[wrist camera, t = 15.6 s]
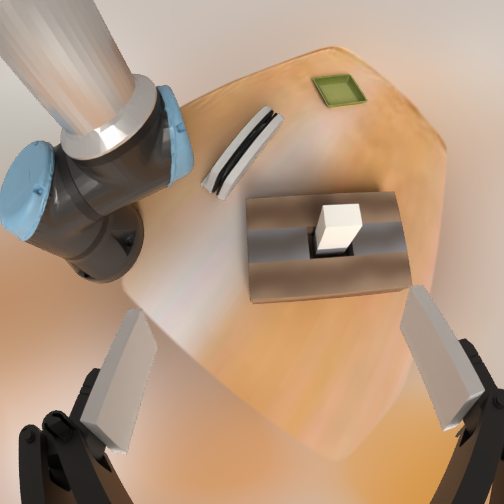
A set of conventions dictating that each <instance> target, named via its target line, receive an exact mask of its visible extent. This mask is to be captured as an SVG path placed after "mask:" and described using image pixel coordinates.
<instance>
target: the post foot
mask: <svg viewBox="0 0 504 504" xmlns="http://www.w3.org/2000/svg"><path fill="white" fill-rule="evenodd" d="M342 204H359V208H360V214H361V219H362V225H363V226H362V227H361V228H360V230H359V231H358V233H357V234H356V236H355V237H354V239H353V240H352V242H351V243H350V245H349V246H348V247H347V249H346V250H345V252H344V253H343V255H342V256H341V257H332V258H319V259H313V249H312V241H313V237H314V234H315V231H316V227H317V224H318V221H319V217H320V214H321V210H322V207H323V205H342ZM246 216H247V240H248V263H249V286H250V300H251V301H252V303H253V304H261V303H277V302H292V301H305V300H318V299H329V298H340V297H351V296H361V295H371V294H380V293H389V292H397V291H401V290H403V289H406V288H408V287H410V286H412V279H411V272H410V266H409V259H408V253H407V248H406V242H405V237H404V232H403V227H402V222H401V217H400V213H399V208H398V204H397V200H396V195H395V192H358V193H333V194H313V195H296V196H281V197H267V198H254V199H246Z"/></svg>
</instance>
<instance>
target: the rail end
mask: <svg viewBox="0 0 504 504" xmlns="http://www.w3.org/2000/svg"><path fill="white" fill-rule="evenodd" d="M362 226H363V225H362V219H361V214H360V208H359V204H342V205H323V207H322V210H321V214H320V217H319V221H318V224H317V227H316V231H315V234H314V237H313V241H312V249H313V259H319V258H332V257H341V256H342V255H343V253H344V252H345V250H346V249H347V247H348V246H349V245H350V243H351V242H352V240H353V239H354V237H355V236H356V234H357V233H358V231H359V230H360V228H361V227H362Z"/></svg>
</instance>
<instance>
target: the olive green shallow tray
mask: <svg viewBox="0 0 504 504" xmlns="http://www.w3.org/2000/svg"><path fill="white" fill-rule="evenodd" d="M313 81H314V83H315V85H316V86H317V88H318V90H319V92H320V93H321V95H322V97H323V99H324V101H325V102H326V104H327V106H328V107H338V106H346V105H354V104H361V103H364V102H367V99H366V97H365V95H364V94H363V92H362V91H361V89H360V88H359V86H358V85H357V83H356V82H355V80H354V79H353V77H352V76H351V75H350V74H343V75H334V76H324V77H316V78H313Z"/></svg>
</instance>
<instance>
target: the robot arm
mask: <svg viewBox="0 0 504 504" xmlns="http://www.w3.org/2000/svg"><path fill="white" fill-rule="evenodd" d="M0 56H1V58H2V59H3V60H4V61H5V62H6V63H7V65H8V66H9V67H10V68H11V70H13V72H14V73H15V74H16V75H17V77H18V78H19V79H20V80H21V82H22V83H23V84H24V85H25V86H26V87H27V89H28V90H29V91H30V92H31V93H32V94H33V95H34V97H35V98H36V99H37V100H38V101H39V102H40V103H41V105H43V107H44V108H45V109H46V110H47V111H48V112H49V113H50V115H51V116H52V117H53V118H54V119H55V120H56V121H57V122H58V123H59V125H60V126H61V127H62V131H61V143H60V144H59V145H57V146H56V147H53V146H52V145H51V144H50V143H49V142H45V141H35V142H33V143H31V144H30V145H28V146H27V147H25V148H24V149H23V150H22V151H21V152H20V154H19V155H18V156H17V157H16V158H15V160H14V162H13V163H12V165H11V166H10V168H9V170H8V172H7V174H6V177H5V179H4V181H3V184H2V187H1V191H0V221H1V223H2V225H3V227H4V228H5V229H6V230H7V231H9V232H11V233H12V234H14V235H15V236H17V237H18V238H19V239H20V240H21V241H25V242H27V243H29V244H32V245H34V246H36V247H38V248H41V249H43V250H46V251H48V252H50V253H52V254H54V255H57V256H59V257H62V258H64V259H65V260H66V261H67V262H68V264H69V265H70V266H71V267H72V268H73V269H74V271H75V272H76V273H77V274H78V275H79V276H81V277H83V278H84V279H86V280H89V281H92V282H95V283H109V282H112V281H114V280H117V279H119V278H120V277H122V276H123V275H124V274H125V273H127V272H128V271H129V269H130V268H131V267H132V266H133V264H134V263H135V261H136V260H137V258H138V256H139V253H140V251H141V248H142V244H143V237H144V230H143V223H142V220H141V217H140V215H139V213H138V212H137V211H136V209H135V208H134V207H133V206H131V204H133V203H135V202H137V201H139V200H141V199H143V198H145V197H147V196H149V195H151V194H153V193H155V192H157V191H159V190H161V189H163V188H165V187H169V186H171V185H172V183H173V182H175V181H177V180H179V179H181V178H182V177H184V176H186V175H188V174H189V173H190V172H191V170H192V168H193V166H194V156H193V151H192V147H191V143H190V139H189V136H188V133H187V130H186V128H185V126H184V121H183V117H182V114H181V111H180V108H179V106H178V103H177V101H176V98H175V96H174V94H173V92H172V90H171V88H170V87H169V86H167V85H164V86H157V87H155V85H154V83H153V82H152V81H151V80H150V79H149V78H148V77H146V76H143V75H139V74H131V72H130V70H129V68H128V66H127V64H126V62H125V60H124V58H123V57H122V55H121V53H120V51H119V49H118V47H117V45H116V43H115V41H114V39H113V38H112V36H111V34H110V32H109V30H108V28H107V26H106V24H105V22H104V20H103V18H102V17H101V15H100V13H99V11H98V9H97V7H96V5H95V3H94V1H93V0H0ZM400 329H401V331H402V334H403V336H404V338H405V340H406V342H407V344H408V347H409V349H410V351H411V353H412V355H413V358H414V360H415V362H416V365H417V367H418V369H419V371H420V374H421V376H422V379H423V381H424V383H425V386H426V388H427V391H428V393H429V396H430V398H431V401H432V403H433V406H434V409H435V411H436V414H437V417H438V420H439V422H440V425H441V428H442V430H443V431H445V430H448V429H450V428H453V427H456V426H457V425H458V424H459V423H460V422H461V421H462V419H463V421H464V423H465V425H464V426H463V427H462V428H461V430H460V431H459V432H458V433H457V435H456V436H455V437H458V436H459V435H460V437H459V439H458V443H457V445H456V448H455V450H454V453H453V455H452V458H451V460H450V462H449V465H448V467H447V469H446V472H445V474H444V476H443V478H442V480H441V483H440V484H439V487H438V489H437V491H436V493H435V495H434V497H433V498H432V501H431V502H430V504H484V503H485V501H486V498H487V496H488V493H489V490H490V488H491V485H492V490H491V496H490V502H489V504H504V390H503V389H498V388H497V386H496V385H495V383H494V381H493V379H492V377H491V375H490V374H489V372H488V370H487V368H486V366H485V364H484V363H483V362H482V359H481V358H480V356H478V352H477V351H476V349H475V347H474V346H473V345H472V344H471V343H470V342H469V341H468V340H467V339H461V340H458V339H457V338H456V336H455V334H454V333H453V331H452V329H451V328H450V326H449V324H448V323H447V321H446V319H445V318H444V316H443V315H442V313H441V312H440V310H439V309H438V307H437V305H436V304H435V303H434V301H433V299H432V298H431V296H430V295H429V293H428V292H427V290H426V289H425V287H424V286H423V285H419V286H412V287H410V289H409V293H408V297H407V301H406V306H405V309H404V313H403V317H402V321H401V325H400ZM157 349H158V345H157V343H156V341H155V338H154V336H153V334H152V332H151V329H150V327H149V325H148V322H147V320H146V317H145V315H144V312H143V310H142V309H129V310H128V312H127V314H126V316H125V318H124V320H123V322H122V324H121V326H120V328H119V330H118V332H117V334H116V337H115V339H114V341H113V343H112V345H111V347H110V350H109V352H108V354H107V356H106V359H105V361H104V363H103V365H102V367H101V369H97V368H94V369H93V370H92V371H91V372H90V373H89V374H88V375H87V377H86V379H85V381H84V383H83V387H82V388H81V390H80V394H79V395H78V397H77V399H76V402H75V404H74V407H73V409H72V411H71V414H70V416H69V417H68V416H66V414H65V413H63V412H62V411H57V410H55V411H52V412H50V413H49V414H47V415H46V417H45V418H44V420H43V423H42V429H43V430H42V431H41V430H40V429H39V428H38V427H36V426H35V425H27V426H25V427H24V428H23V429H22V430H21V432H20V435H19V478H20V493H21V503H22V504H133V502H132V500H131V498H130V497H129V495H128V493H127V492H126V490H125V488H124V486H123V485H122V483H121V481H120V479H119V477H118V475H117V474H116V472H115V470H114V468H113V466H112V464H111V462H110V460H109V458H108V456H107V454H106V453H105V452H104V451H105V447H106V446H107V447H108V448H109V449H110V450H111V451H113V452H118V453H123V454H127V452H128V449H129V445H130V441H131V437H132V434H133V430H134V426H135V423H136V419H137V415H138V412H139V408H140V405H141V401H142V398H143V394H144V391H145V388H146V385H147V381H148V378H149V375H150V371H151V368H152V365H153V362H154V359H155V355H156V352H157ZM492 482H493V483H492Z"/></svg>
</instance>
